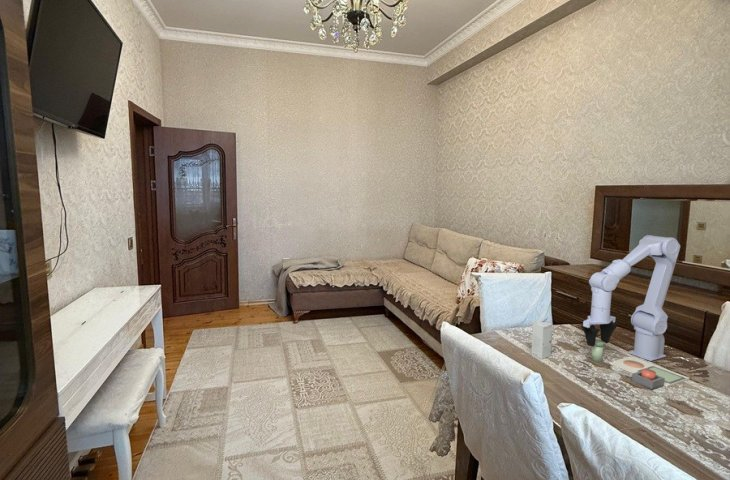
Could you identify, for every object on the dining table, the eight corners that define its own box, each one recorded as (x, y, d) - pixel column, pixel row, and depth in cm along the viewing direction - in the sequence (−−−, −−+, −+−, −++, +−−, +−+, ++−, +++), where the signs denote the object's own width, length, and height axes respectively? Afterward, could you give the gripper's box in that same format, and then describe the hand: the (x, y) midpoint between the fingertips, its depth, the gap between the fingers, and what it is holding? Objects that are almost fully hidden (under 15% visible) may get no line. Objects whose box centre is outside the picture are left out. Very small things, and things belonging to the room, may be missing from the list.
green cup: (595, 357, 140) (596, 338, 139) (604, 361, 137) (606, 342, 136) (588, 358, 138) (589, 340, 138) (598, 362, 135) (599, 343, 134)
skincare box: (541, 359, 138) (543, 327, 136) (530, 355, 141) (532, 323, 140) (551, 355, 141) (553, 323, 140) (540, 351, 145) (542, 320, 143)
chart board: (630, 357, 139) (630, 355, 139) (689, 379, 123) (689, 377, 123) (609, 363, 134) (609, 361, 134) (667, 387, 118) (667, 385, 118)
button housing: (643, 377, 124) (643, 370, 124) (663, 385, 119) (664, 378, 119) (631, 381, 122) (632, 373, 122) (652, 389, 116) (653, 382, 116)
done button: (645, 375, 123) (646, 367, 122) (657, 380, 119) (658, 372, 119) (638, 377, 121) (639, 370, 121) (650, 382, 118) (651, 374, 118)
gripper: (603, 301, 142) (600, 337, 143) (576, 306, 136) (573, 343, 137) (622, 306, 135) (619, 343, 137) (595, 311, 129) (592, 350, 131)
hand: (597, 343), depth 137 cm, fingers open, 7 cm apart
